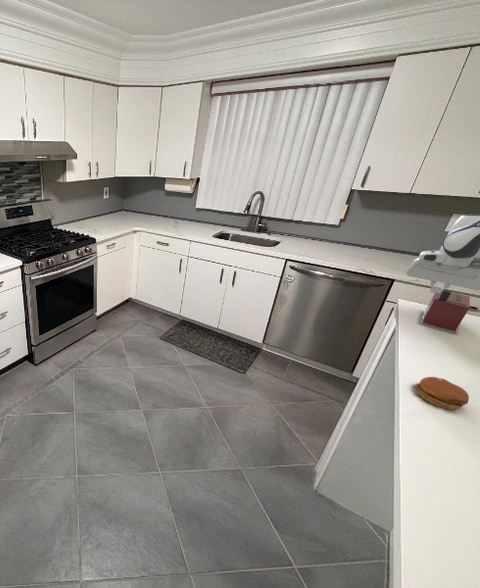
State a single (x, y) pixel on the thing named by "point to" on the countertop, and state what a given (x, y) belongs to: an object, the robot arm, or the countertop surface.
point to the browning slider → (445, 294)
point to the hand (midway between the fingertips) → (435, 292)
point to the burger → (442, 393)
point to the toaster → (446, 312)
